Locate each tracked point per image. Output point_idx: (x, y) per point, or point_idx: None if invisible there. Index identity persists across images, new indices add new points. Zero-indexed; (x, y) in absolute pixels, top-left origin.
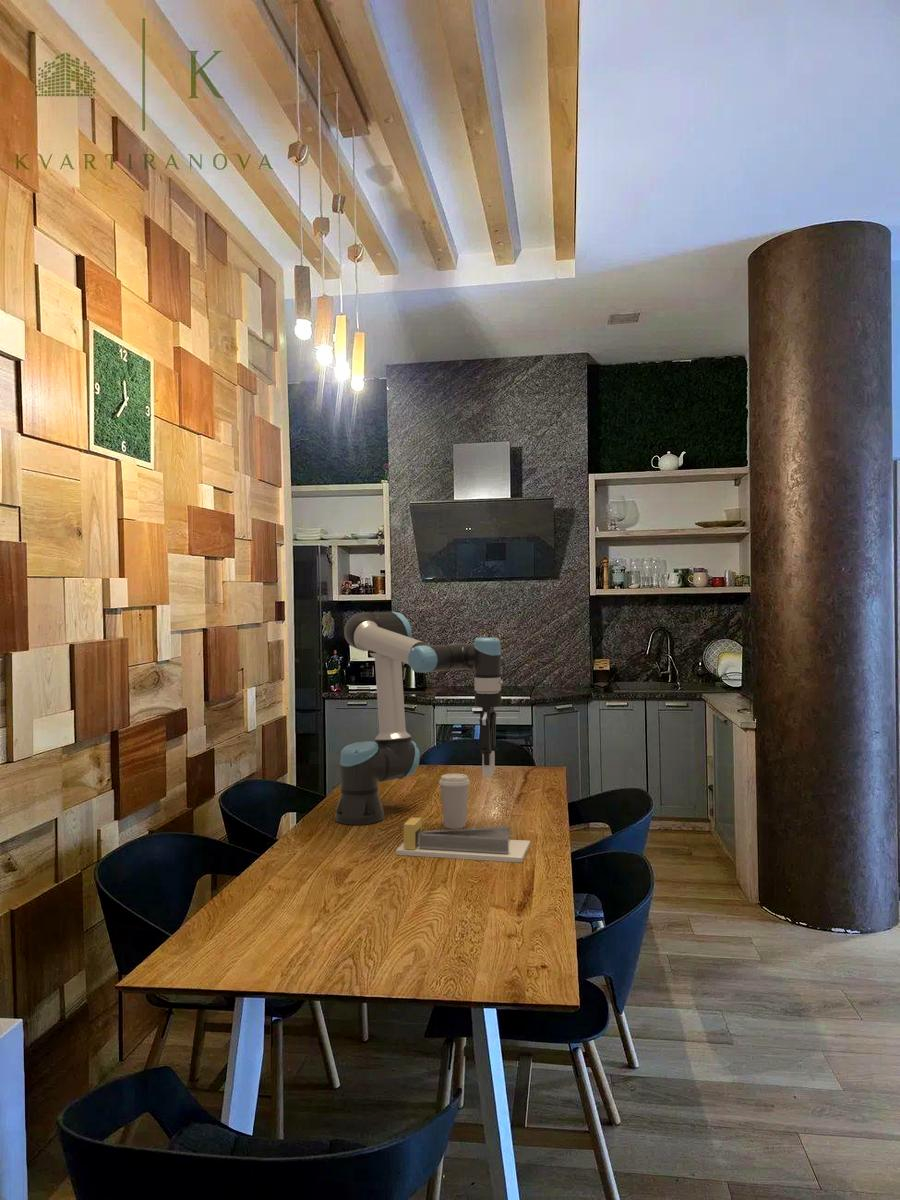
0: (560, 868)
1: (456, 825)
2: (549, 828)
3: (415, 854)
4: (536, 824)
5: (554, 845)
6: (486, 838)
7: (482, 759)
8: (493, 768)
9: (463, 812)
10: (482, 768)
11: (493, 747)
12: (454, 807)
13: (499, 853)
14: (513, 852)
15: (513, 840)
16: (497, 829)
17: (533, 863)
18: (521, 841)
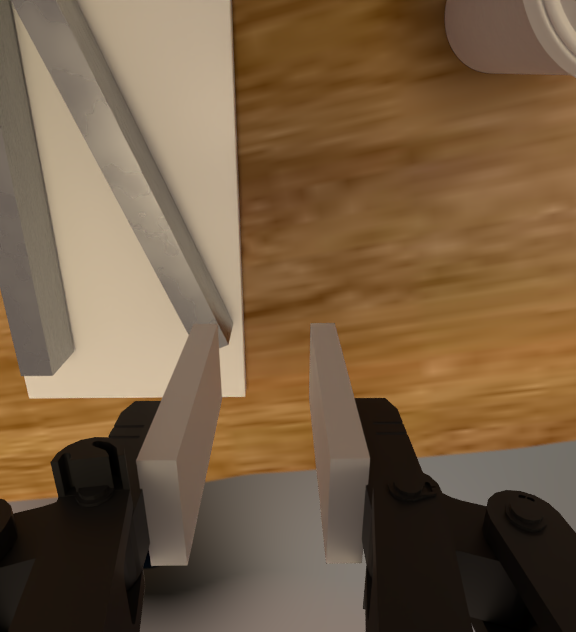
0: (29, 494)
1: (450, 31)
2: (476, 421)
3: None
4: (533, 373)
5: (263, 457)
6: (8, 290)
7: (157, 411)
8: (312, 420)
9: (493, 62)
10: (179, 357)
11: (367, 596)
12: (476, 1)
13: None
14: (80, 363)
15: (233, 340)
16: (175, 308)
17: (45, 422)
18: (228, 369)
